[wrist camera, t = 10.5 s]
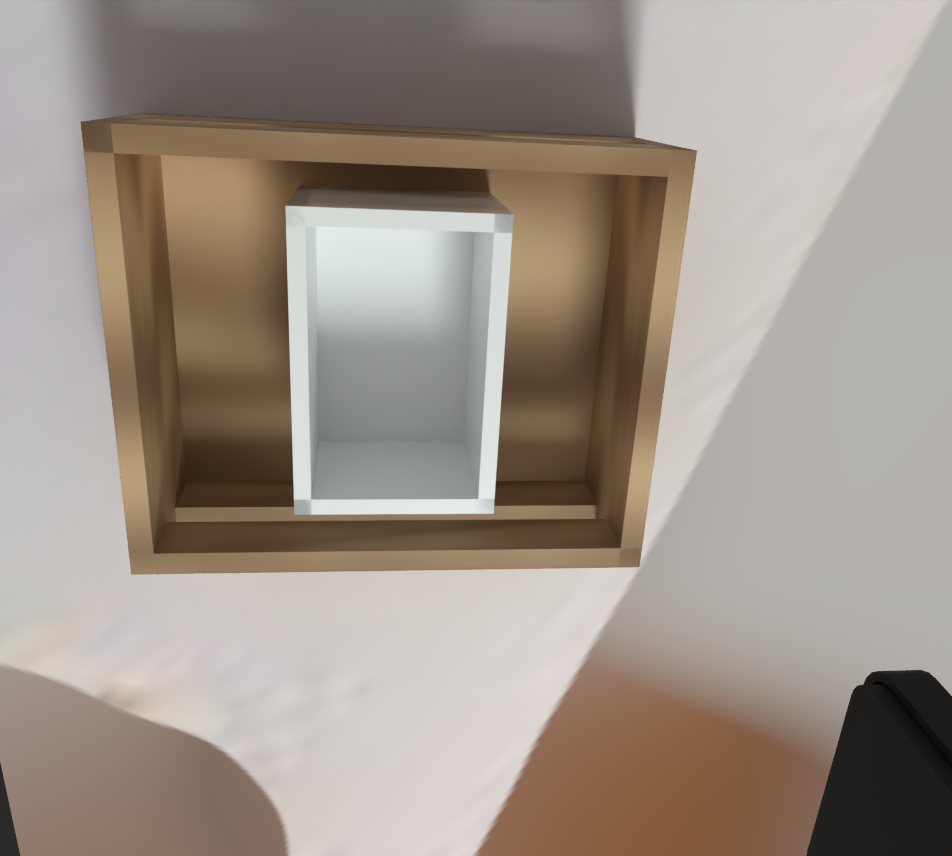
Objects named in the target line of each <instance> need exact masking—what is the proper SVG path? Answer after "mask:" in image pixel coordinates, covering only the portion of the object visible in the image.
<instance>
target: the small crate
mask: <svg viewBox="0 0 952 856" xmlns="http://www.w3.org/2000/svg"><path fill="white" fill-rule="evenodd" d="M285 209H286V243H287V278H288V312H289V347H290V381H291V416H292V450H293V485H294V515H342V514H494V500H495V485H496V470H497V455H498V440H499V425H500V410H501V395H502V380H503V365H504V350H505V335H506V320H507V305H508V290H509V275H510V260H511V245H512V230H513V215H514V214H513V213H511V212H510V211H509V210H508V209H507V208H506V207H505V206H504V205H503V204H502V203H501V202H500V201H499V200H498V199H497V198H496V197H495V196H494V195H492V194H491V193H490V192H472V191H448V190H423V189H399V188H374V187H350V186H325V185H301V184H300V186H299V187H298V189H297V190H296V191H295V193H294V194H293V196H292V197H291V199H290V200H289V201H288V203H287V204H286V206H285Z"/></svg>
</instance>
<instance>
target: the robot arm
mask: <svg viewBox="0 0 952 856" xmlns="http://www.w3.org/2000/svg"><path fill="white" fill-rule="evenodd" d="M0 856H20V853H19V848H18V843H17V839H16V834H15V830H14V825H13V820H12V816H11V811H10V806H9V802H8V797H7V792H6V788H5V783H4V778H3V773H2V769H1V764H0ZM807 856H952V696H951V695H950V694H949V693H948V692H947V691H946V689H945V688H944V687H943V686H942V685H941V684H940V683H939V682H938V681H937V679H936V678H934V677H933V676H932V675H930V673H928V672H925V671H922V670H906V671H877V672H872V673H871V674H870V675H869V676H868V677H867V678H866V680H865V682H864V684H863V685H859V686H857V687H856V688H855V689H854V690H853V693H852V695H851V699H850V702H849V706H848V709H847V713H846V716H845V720H844V723H843V727H842V731H841V734H840V738H839V741H838V745H837V748H836V752H835V756H834V759H833V762H832V766H831V769H830V773H829V776H828V780H827V784H826V787H825V791H824V794H823V798H822V801H821V805H820V808H819V812H818V815H817V819H816V823H815V826H814V830H813V833H812V837H811V840H810V844H809V847H808V851H807Z"/></svg>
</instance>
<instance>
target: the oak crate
mask: <svg viewBox="0 0 952 856" xmlns="http://www.w3.org/2000/svg"><path fill="white" fill-rule="evenodd" d="M81 129H82V138H83V147H84V156H85V165H86V174H87V183H88V192H89V201H90V210H91V219H92V227H93V236H94V245H95V254H96V263H97V272H98V281H99V290H100V299H101V308H102V317H103V326H104V334H105V343H106V352H107V361H108V370H109V379H110V388H111V397H112V406H113V415H114V424H115V433H116V441H117V450H118V459H119V468H120V477H121V486H122V495H123V504H124V513H125V522H126V531H127V540H128V549H129V557H130V566H131V574H193V573H263V572H332V571H402V570H472V569H541V568H611V567H639V565H640V558H641V551H642V543H643V536H644V529H645V522H646V514H647V507H648V500H649V493H650V486H651V478H652V471H653V464H654V457H655V450H656V442H657V435H658V428H659V421H660V413H661V406H662V399H663V392H664V385H665V377H666V370H667V363H668V356H669V349H670V341H671V334H672V327H673V320H674V312H675V305H676V298H677V291H678V284H679V276H680V269H681V262H682V255H683V248H684V240H685V233H686V226H687V219H688V211H689V204H690V197H691V190H692V183H693V175H694V168H695V161H696V154H697V151H695V150H691V149H686V148H681V147H677V146H672V145H668V144H663V143H658V142H654V141H649V140H644V139H640V138H633V137H612V136H592V135H571V134H550V133H529V132H509V131H488V130H467V129H447V128H426V127H405V126H384V125H364V124H343V123H322V122H301V121H281V120H260V119H239V118H219V117H198V116H177V115H156V114H134V115H127V116H120V117H113V118H106V119H99V120H91V121H84V122H81ZM300 184H301V185H325V186H350V187H374V188H399V189H423V190H448V191H472V192H490V193H491V194H492V195H494V196H495V197H496V198H497V199H498V200H499V201H500V202H501V203H502V204H503V205H504V206H505V207H506V208H507V209H508V210H509V211H510V212H511V213H513V214H514V215H513V230H512V245H511V260H510V275H509V290H508V305H507V320H506V335H505V350H504V365H503V380H502V395H501V410H500V425H499V440H498V455H497V470H496V485H495V500H494V514H342V515H294V485H293V450H292V416H291V381H290V347H289V312H288V278H287V243H286V209H285V206H286V204H287V203H288V201H289V200H290V199H291V197H292V196H293V194H294V193H295V191H296V190H297V189H298V187H299V186H300Z"/></svg>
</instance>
